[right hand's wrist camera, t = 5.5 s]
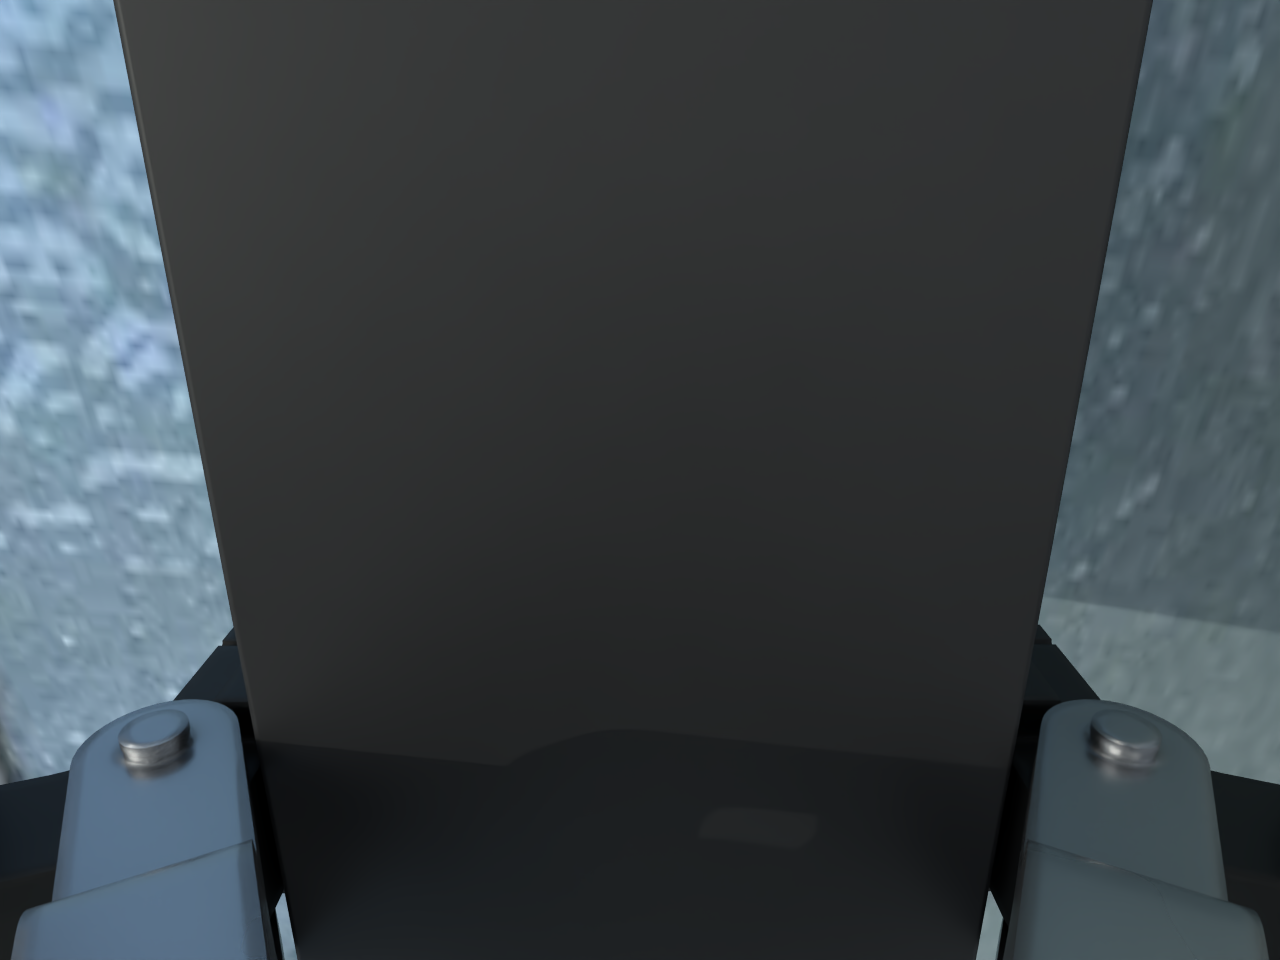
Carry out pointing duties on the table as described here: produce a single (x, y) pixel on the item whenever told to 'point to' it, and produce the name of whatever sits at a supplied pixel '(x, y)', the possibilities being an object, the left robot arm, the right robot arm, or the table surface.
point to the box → (634, 446)
